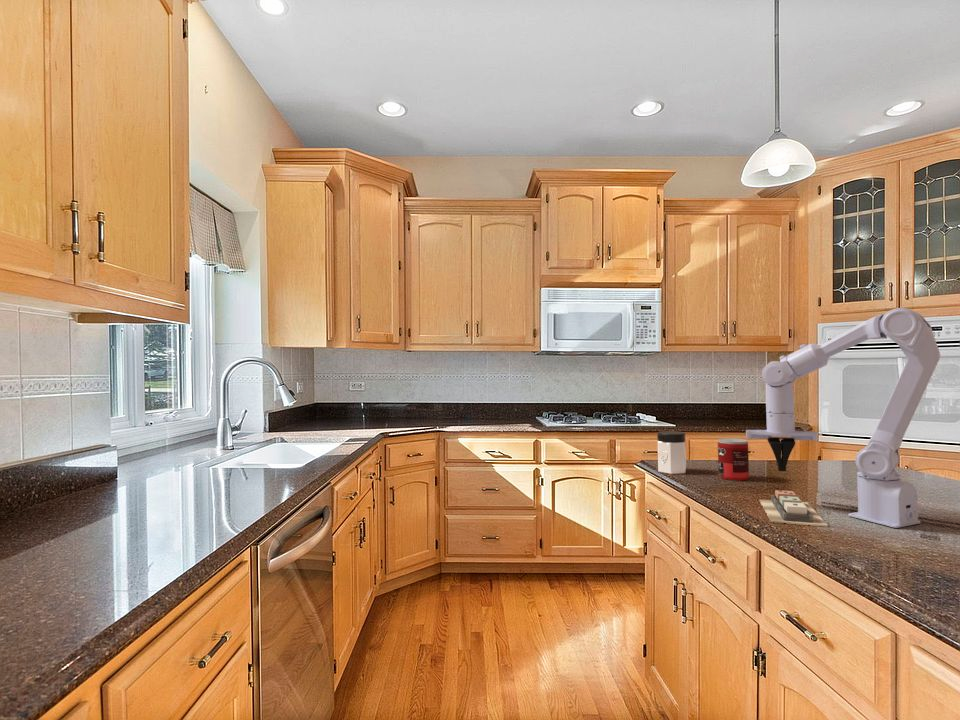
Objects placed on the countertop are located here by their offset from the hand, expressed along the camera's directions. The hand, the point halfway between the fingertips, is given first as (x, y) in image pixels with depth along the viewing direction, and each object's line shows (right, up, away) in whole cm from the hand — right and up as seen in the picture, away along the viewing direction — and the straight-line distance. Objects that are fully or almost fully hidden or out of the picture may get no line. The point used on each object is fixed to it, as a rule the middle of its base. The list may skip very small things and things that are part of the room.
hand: (781, 470), depth 122 cm
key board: (-2, -8, -7) cm, 11 cm away
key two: (-2, -6, -7) cm, 10 cm away
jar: (-11, -9, +39) cm, 42 cm away
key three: (0, -6, -2) cm, 6 cm away
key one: (-4, -6, -12) cm, 14 cm away
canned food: (+2, -8, +28) cm, 29 cm away
